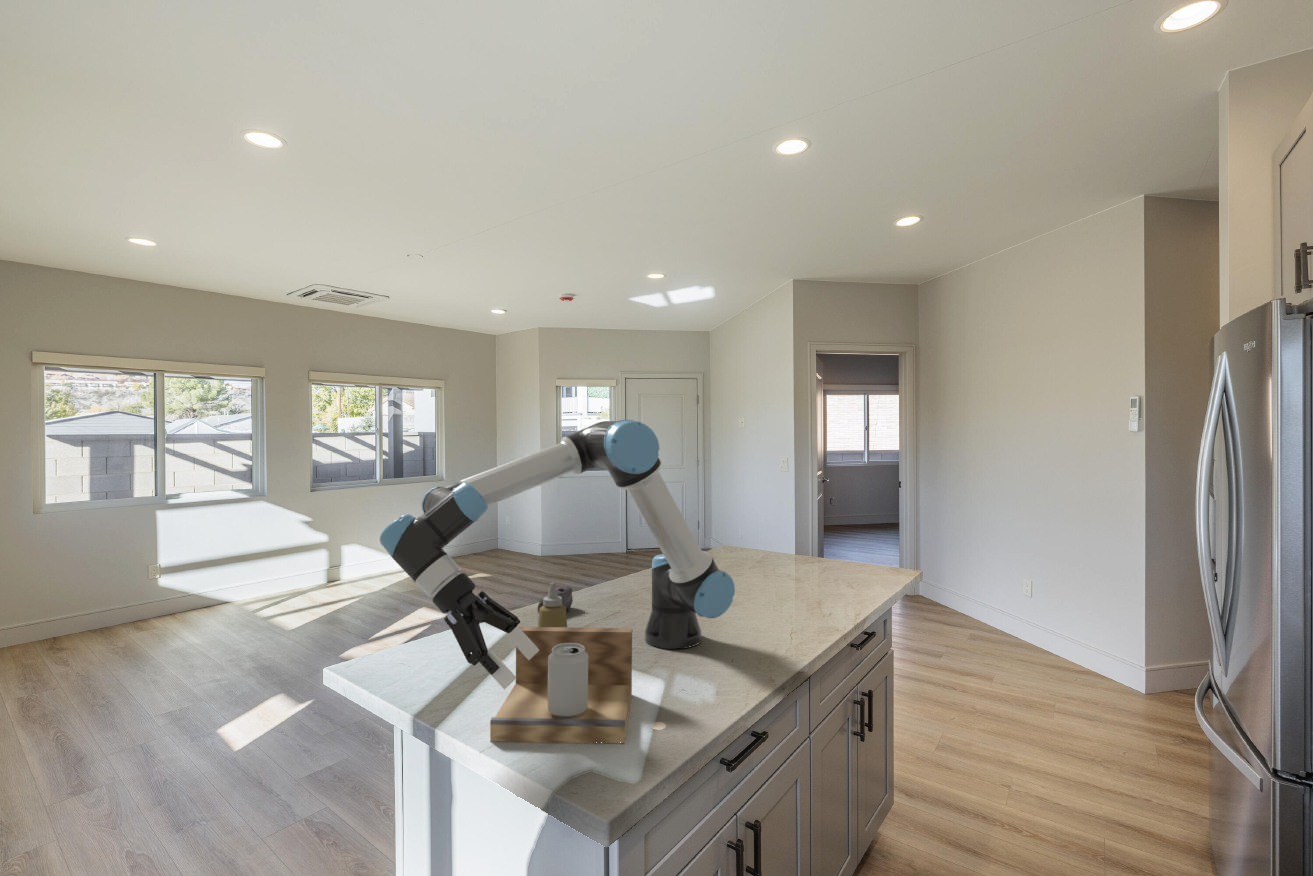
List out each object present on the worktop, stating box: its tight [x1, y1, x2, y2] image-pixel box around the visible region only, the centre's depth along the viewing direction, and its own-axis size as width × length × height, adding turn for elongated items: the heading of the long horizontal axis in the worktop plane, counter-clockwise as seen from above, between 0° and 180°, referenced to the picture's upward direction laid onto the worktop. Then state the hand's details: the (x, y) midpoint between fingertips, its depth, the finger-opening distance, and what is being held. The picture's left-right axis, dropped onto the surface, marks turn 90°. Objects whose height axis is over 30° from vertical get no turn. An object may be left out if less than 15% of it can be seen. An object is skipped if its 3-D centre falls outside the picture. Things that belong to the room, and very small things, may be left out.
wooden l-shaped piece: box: [489, 626, 633, 744], centre depth 115 cm, size 24×20×14 cm
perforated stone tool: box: [537, 586, 574, 614], centre depth 181 cm, size 15×5×7 cm, turn 147°
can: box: [548, 643, 588, 719], centre depth 110 cm, size 8×8×12 cm
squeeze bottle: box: [537, 582, 568, 627], centre depth 146 cm, size 8×8×18 cm
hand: (523, 668), depth 110 cm, fingers open, 13 cm apart
